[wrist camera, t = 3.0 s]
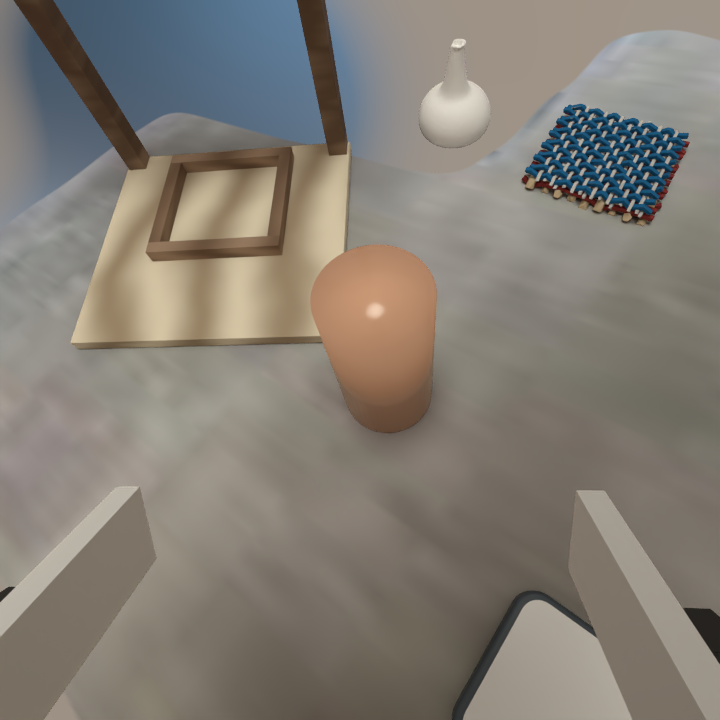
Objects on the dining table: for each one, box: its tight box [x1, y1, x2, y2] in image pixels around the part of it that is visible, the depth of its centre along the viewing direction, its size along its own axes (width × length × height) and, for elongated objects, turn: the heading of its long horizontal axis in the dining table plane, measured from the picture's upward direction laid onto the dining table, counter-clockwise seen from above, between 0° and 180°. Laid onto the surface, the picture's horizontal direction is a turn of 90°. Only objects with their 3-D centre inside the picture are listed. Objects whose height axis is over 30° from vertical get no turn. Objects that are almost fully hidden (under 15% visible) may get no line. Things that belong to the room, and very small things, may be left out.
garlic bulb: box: [419, 39, 490, 148], centre depth 41 cm, size 6×6×8 cm
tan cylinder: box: [310, 245, 437, 433], centre depth 28 cm, size 6×6×12 cm
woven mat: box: [522, 104, 690, 226], centre depth 40 cm, size 10×11×2 cm
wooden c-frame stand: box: [14, 0, 351, 349], centre depth 31 cm, size 21×20×22 cm
